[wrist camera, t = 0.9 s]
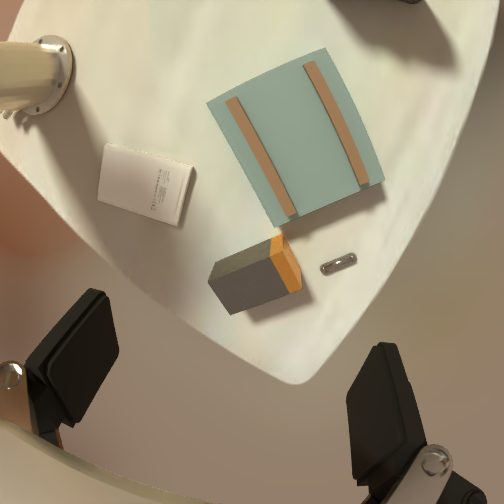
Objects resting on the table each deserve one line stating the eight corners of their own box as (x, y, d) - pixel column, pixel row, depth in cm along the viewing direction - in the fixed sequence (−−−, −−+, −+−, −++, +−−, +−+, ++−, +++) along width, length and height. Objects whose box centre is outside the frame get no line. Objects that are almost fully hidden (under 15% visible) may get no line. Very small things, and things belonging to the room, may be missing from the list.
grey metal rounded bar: (321, 271, 40) (322, 276, 39) (318, 264, 40) (319, 269, 39) (356, 257, 39) (358, 261, 38) (353, 249, 38) (355, 254, 37)
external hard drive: (110, 142, 35) (195, 165, 35) (102, 197, 38) (180, 223, 39) (104, 143, 33) (191, 168, 34) (96, 200, 37) (176, 228, 38)
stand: (274, 218, 37) (274, 232, 33) (212, 103, 31) (203, 103, 28) (377, 174, 33) (388, 182, 29) (321, 52, 27) (326, 45, 24)
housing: (235, 293, 43) (230, 315, 38) (215, 262, 41) (207, 282, 36) (300, 267, 40) (302, 288, 36) (282, 233, 38) (282, 251, 34)
